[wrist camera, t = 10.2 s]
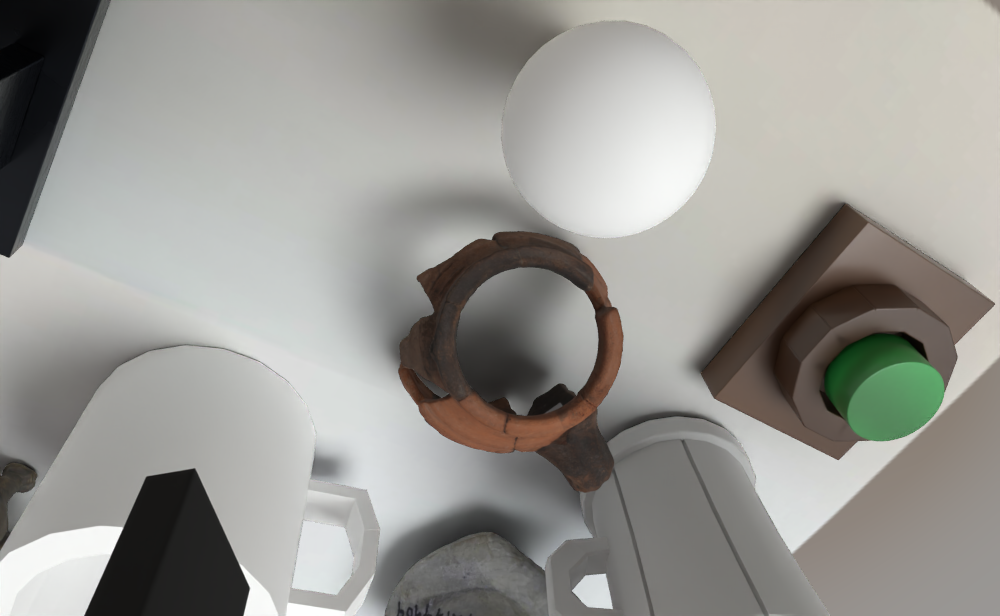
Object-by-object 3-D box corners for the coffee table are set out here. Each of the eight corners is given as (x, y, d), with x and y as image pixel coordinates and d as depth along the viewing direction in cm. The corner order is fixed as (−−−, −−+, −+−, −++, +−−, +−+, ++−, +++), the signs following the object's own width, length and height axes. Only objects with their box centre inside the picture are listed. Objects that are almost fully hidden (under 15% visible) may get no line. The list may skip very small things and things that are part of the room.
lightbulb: (454, 32, 29) (469, 121, 19) (606, -53, 28) (702, -2, 18) (527, 172, 32) (571, 309, 22) (667, 100, 31) (776, 212, 21)
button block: (845, 202, 34) (894, 242, 30) (968, 282, 36) (1026, 328, 33) (700, 373, 37) (728, 426, 34) (820, 434, 40) (858, 489, 37)
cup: (603, 577, 44) (658, 801, 34) (514, 481, 40) (546, 701, 30) (773, 490, 42) (888, 700, 31) (698, 377, 38) (802, 578, 27)
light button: (870, 318, 32) (897, 346, 30) (935, 357, 34) (965, 386, 32) (804, 388, 34) (826, 419, 32) (869, 423, 35) (894, 454, 33)
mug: (410, 390, 37) (406, 572, 27) (355, 544, 41) (337, 743, 32) (100, 320, 33) (-22, 499, 24) (78, 495, 38) (-31, 701, 29)
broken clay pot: (338, 331, 35) (356, 341, 27) (490, 194, 37) (549, 166, 29) (511, 516, 37) (575, 576, 30) (646, 379, 39) (740, 400, 31)
